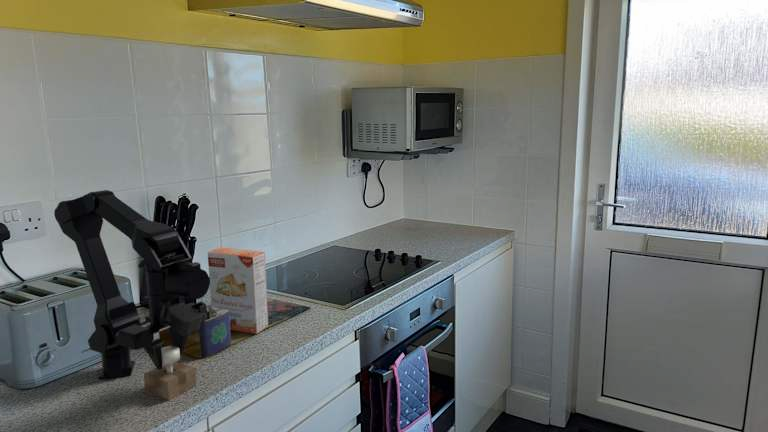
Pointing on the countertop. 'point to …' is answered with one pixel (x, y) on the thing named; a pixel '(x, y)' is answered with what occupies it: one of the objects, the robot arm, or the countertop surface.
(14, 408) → the countertop surface
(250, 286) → the cracker box
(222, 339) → the flask
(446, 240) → the countertop surface
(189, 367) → the block
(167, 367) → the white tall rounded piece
